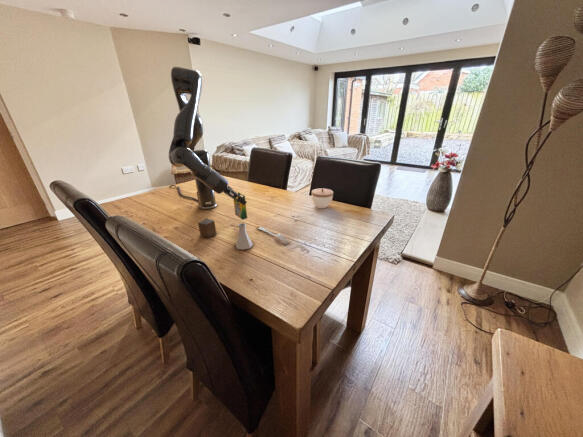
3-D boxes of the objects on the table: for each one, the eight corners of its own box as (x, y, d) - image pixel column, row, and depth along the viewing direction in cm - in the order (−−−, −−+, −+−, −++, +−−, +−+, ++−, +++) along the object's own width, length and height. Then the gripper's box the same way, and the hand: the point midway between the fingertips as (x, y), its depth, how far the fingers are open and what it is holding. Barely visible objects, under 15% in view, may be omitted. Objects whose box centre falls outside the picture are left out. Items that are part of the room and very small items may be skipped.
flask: (236, 241, 103) (234, 221, 99) (253, 240, 104) (251, 220, 99) (234, 250, 97) (231, 229, 92) (252, 249, 97) (250, 228, 93)
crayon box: (235, 215, 117) (232, 193, 112) (240, 213, 119) (238, 191, 114) (241, 220, 112) (239, 197, 107) (247, 218, 114) (245, 195, 109)
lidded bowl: (308, 208, 137) (308, 190, 132) (314, 201, 147) (315, 184, 143) (329, 211, 132) (330, 192, 128) (334, 203, 143) (335, 186, 138)
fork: (262, 231, 117) (261, 226, 116) (290, 242, 102) (289, 237, 101) (257, 233, 115) (256, 228, 114) (285, 245, 100) (284, 239, 99)
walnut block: (200, 236, 108) (197, 222, 105) (208, 231, 112) (206, 218, 109) (208, 238, 106) (205, 224, 103) (216, 233, 110) (214, 220, 107)
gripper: (225, 178, 97) (252, 199, 108) (215, 171, 108) (241, 190, 119) (214, 192, 97) (243, 212, 107) (205, 184, 108) (232, 202, 118)
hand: (242, 200), depth 113 cm, fingers closed on crayon box, 7 cm apart
